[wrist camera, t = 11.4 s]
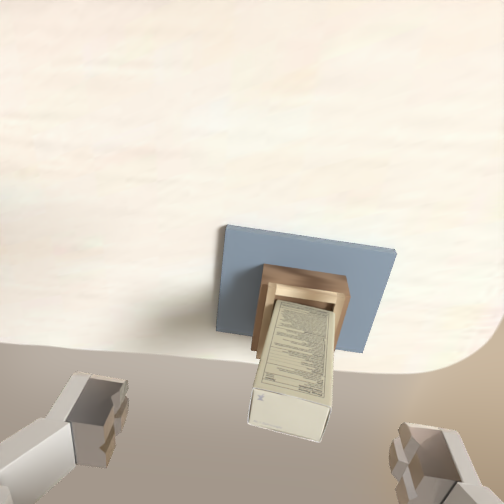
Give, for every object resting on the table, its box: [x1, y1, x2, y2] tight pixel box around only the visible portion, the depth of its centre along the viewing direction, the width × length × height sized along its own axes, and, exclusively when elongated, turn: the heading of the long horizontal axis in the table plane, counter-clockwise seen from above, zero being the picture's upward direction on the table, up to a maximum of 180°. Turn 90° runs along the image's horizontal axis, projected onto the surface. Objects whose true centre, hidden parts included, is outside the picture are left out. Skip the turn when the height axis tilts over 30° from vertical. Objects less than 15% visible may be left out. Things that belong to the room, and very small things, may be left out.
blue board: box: [216, 225, 397, 353], centre depth 45 cm, size 18×14×1 cm
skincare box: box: [247, 300, 335, 442], centre depth 36 cm, size 6×4×12 cm
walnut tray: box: [251, 264, 351, 359], centre depth 43 cm, size 9×10×5 cm
